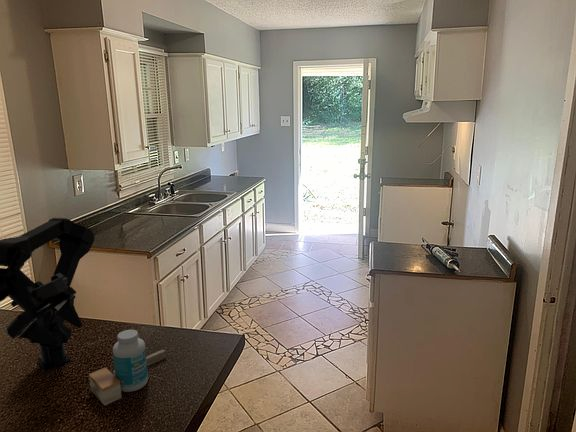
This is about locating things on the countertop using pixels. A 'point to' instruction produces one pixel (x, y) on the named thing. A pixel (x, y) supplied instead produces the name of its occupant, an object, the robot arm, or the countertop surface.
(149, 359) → the rail
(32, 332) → the robot arm
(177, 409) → the countertop surface
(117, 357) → the pill bottle
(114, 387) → the block
